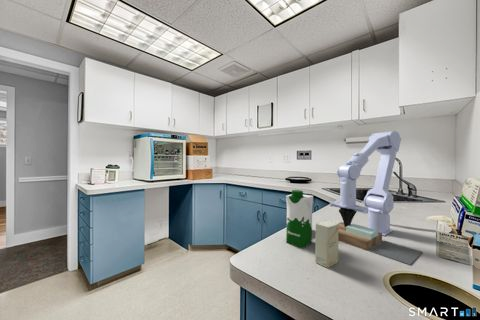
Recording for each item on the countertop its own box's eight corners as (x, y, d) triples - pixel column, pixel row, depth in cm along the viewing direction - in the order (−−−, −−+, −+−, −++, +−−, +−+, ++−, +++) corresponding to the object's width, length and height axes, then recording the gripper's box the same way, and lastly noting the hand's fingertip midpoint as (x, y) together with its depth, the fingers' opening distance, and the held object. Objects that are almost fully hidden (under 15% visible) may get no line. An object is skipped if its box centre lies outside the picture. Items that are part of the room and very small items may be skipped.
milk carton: (282, 242, 77) (283, 190, 76) (294, 236, 83) (295, 187, 83) (304, 250, 71) (305, 193, 70) (315, 242, 77) (316, 190, 77)
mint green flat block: (353, 228, 84) (353, 223, 84) (377, 235, 77) (378, 230, 77) (346, 231, 81) (346, 226, 81) (371, 239, 73) (371, 233, 73)
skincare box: (327, 268, 59) (328, 227, 59) (314, 262, 63) (315, 223, 63) (338, 262, 63) (339, 223, 63) (325, 256, 67) (326, 219, 66)
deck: (341, 228, 92) (341, 222, 92) (381, 240, 79) (382, 233, 79) (324, 235, 84) (324, 228, 84) (366, 250, 71) (366, 241, 71)
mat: (384, 241, 79) (384, 240, 79) (422, 252, 70) (422, 251, 70) (369, 251, 70) (369, 250, 70) (410, 265, 61) (410, 264, 61)
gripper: (326, 192, 86) (325, 223, 87) (362, 198, 75) (362, 234, 75) (334, 190, 91) (334, 220, 91) (370, 196, 79) (370, 230, 79)
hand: (347, 226), depth 83 cm, fingers closed
